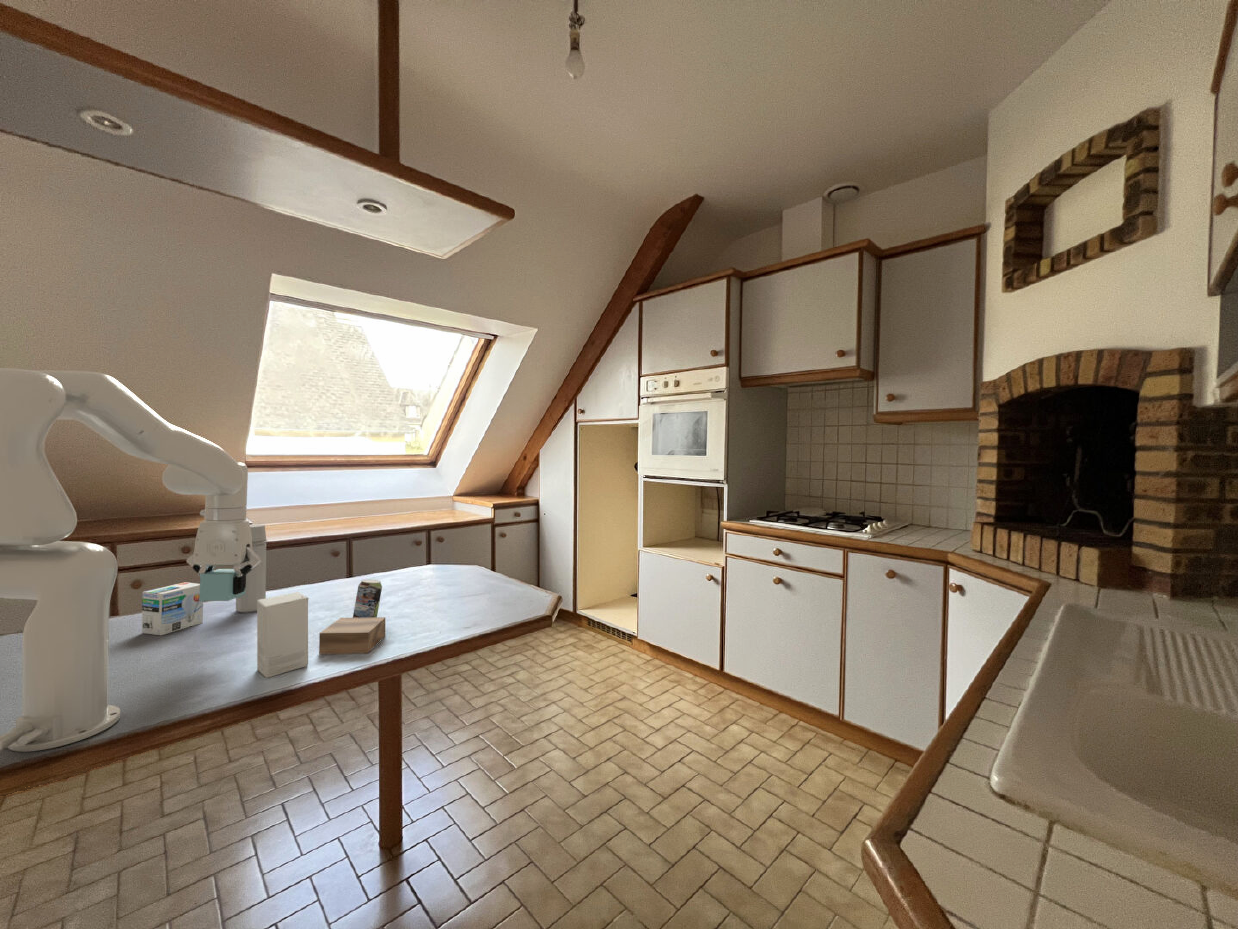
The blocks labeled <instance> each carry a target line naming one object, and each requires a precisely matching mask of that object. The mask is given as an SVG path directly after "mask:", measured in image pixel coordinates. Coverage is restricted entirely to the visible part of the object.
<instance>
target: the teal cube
mask: <svg viewBox="0 0 1238 929" xmlns="http://www.w3.org/2000/svg"><path fill="white" fill-rule="evenodd" d="M234 577H236V574H235V571H234V569H233V568H218V569H213V571H210V572H207V573H203V574H200V577H199V584H200V596H199V601H203V602H229V601H233V600H234V599H235V600H236V598H237V597H240V596H242V595H245V591H246V588H245V590H244V592H242V593H239V594H236V595H234V594H233V579H234Z"/></svg>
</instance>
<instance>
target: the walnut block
mask: <svg viewBox="0 0 1238 929" xmlns="http://www.w3.org/2000/svg"><path fill="white" fill-rule="evenodd" d="M384 636H385V637H386V617H381V616H380V617H378V616H377V617H368V618H353V617H340V618H339V619H337V620H335V621H334V622H333V623H331V624H330V625H329V626H327V627H326V628H325V629H324V630H321V631H320V632H319V636H318V638H319V642H318V644H319V645H318V654H319V655H351V654H350V653H366V654H369V653H370V652H371V651H372V650H373V649H374V648H375V647H376V646H377V645H378V644H379V643H380V642H381V641H382V640H383V639H384V638H385V637H384ZM383 637H384V638H383ZM382 638H383V639H382ZM381 639H382V640H381ZM380 640H381V641H380ZM379 641H380V642H379ZM378 642H379V643H378ZM377 643H378V644H377ZM376 644H377V645H376ZM375 645H376V646H375ZM374 646H375V647H374ZM373 647H374V648H373ZM372 648H373V649H372ZM371 649H372V650H371ZM370 650H371V651H370ZM369 651H370V652H369ZM368 652H369V653H368ZM346 653H347V654H346Z"/></svg>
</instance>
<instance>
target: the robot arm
mask: <svg viewBox="0 0 1238 929" xmlns="http://www.w3.org/2000/svg"><path fill="white" fill-rule="evenodd" d="M57 420H67V421H68V420H69V421H77V422H79V423H81V424H84V425H85V426H86V427H88V428H89V429H90V430H92V431H94V432H95V433H97V434H98V435H100V437H102V438H103V439H105V440H106V441H107V442H109V443H110V444H112V445H113V446H114V447H116V448H118V450H120V451H121V452H123V453H125V454H127V455H128V456H132V457H135V458H138V459H141V460H145V461H149V462H154V463H159V464H164V465H168V466H167V467H165V469H164V471H163V472H162V475H161V481H162V483H163V486H164V487H165V488H166V489H167V490H168V491H171V492H172V493H174V494H178V495H185V496H187V495H188V496H205V500H204V501H205V502H204V504H205V506H204V509H201V510H200V512H199V515H200V516H202V517H204V518H203V519H204V520H203V521H200V523H199V526H198V528H197V533H196V537H195V542H194V550H193V553H192V554H191V555H189V556H188V558H186V560H185V561H186V563H187V564H188V565H190V567H191V568H192V569H193V570H194V571H195V573H197V576H198V577H199V578H200V574H203V573H207V572H210V571H214V570H215V567H217V566H219V567H221V566H222V567H223V566H224V567H227V566H228V567H231V566H232V569H234V571H235V574H236V577H234V579H233V594H234V595H236V594H239V593H242V592H244V590H245V588H246V575H247V574H249V572H250V571H251V570H252V569H253V568H254V567H255V566H256V565H258V564H259V563H260V562H261V558H260V557H259V556H258V555H257V554H256V553H255V552H254V551H253V550H252V535H251V529H250V525H251V524H250V521H249V520H247V510H248V509H247V506H248V505H247V504H248V481H249V480H248V479H249V477H248V476H249V475H248V474H249V469H248V466H247V465H246V463H243V462H238V461H237V460H236V459H235V458H233V457H232V456H231V455H230V454H229V453H228V452H227V451H225V450H224V449H223V448H222V447H221V446H219V445H218V444H215V443H213V442H212V441H210V440H207V439H206V438H204V437H201V436H199V435H196V434H194V433H192V432H190V431H187V430H185V429H184V428H181V427H178V426H176V425H174V424H171V423H169V422H168V421H167V420H165V419H164V418H162V417H161V416H160V415H159V414H158V413H157V412H156V411H154V410H153V409H152V408H151V407H149V405H147V404H146V403H145V402H144V401H143V400H141V399H140V398H139V397H138V396H137V395H136V394H134V393H133V392H132V391H131V390H129V388H127V387H126V386H125V385H123V384H122V382H119V381H118V380H117V379H116V378H114V377H113V376H110V375H108V374H105V373H101V372H97V371H89V370H88V371H86V370H85V371H83V370H47V369H46V370H41V369H39V370H31V369H22V368H8V367H5V368H4V367H3V368H2V367H0V599H10V600H33V601H37V602H36V604H35V607H34V608H33V610H32V612H31V613H30V615H28V616H29V617H28V618H27V620H26V621H25V624H24V627H23V631H22V716H20V717H18V718H16V719H15V726H14V727H12V728H11V729H10V731H9V732H6V733H4V734H1V735H0V751H2V750H4V749H5V748H7V749H9V750H10V751H13V752H20V753H21V752H23V753H24V752H37V751H42V750H43V751H44V750H45V751H46V750H50V749H53V748H58V747H62V746H66V745H69V744H73V743H76V742H79V741H82V740H85V739H87V738H90V737H93V736H95V735H97V734H99V733H102V732H103V731H105V730H107V729H108V728H110V727H112V726H113V725H115V723H117V722H118V721H119V719H120V718H121V708H119V707H118V706H117V705H111V704H109V645H110V644H109V643H110V642H109V638H110V636H109V632H110V631H109V627H110V626H109V623H110V622H109V621H110V602H111V598H112V593H113V588H114V587H115V583H116V579H117V575H118V568H119V566H118V565H119V564H118V560H117V558H116V556H115V554H114V553H113V552H112V551H111V550H109V549H108V548H106V547H105V546H102V545H100V544H97V543H93V542H92V543H91V542H85V541H72V540H71V541H70V540H69V541H68V540H67V541H65V540H63V539H65V538H67V537H69V536H70V535H71V534H72V533H73V532H74V531H75V529H76V527H77V524H78V517H77V511H76V509H75V508H74V506H73V504H72V502H71V500H70V498H69V496H68V495H67V493H66V491H65V490H64V488H63V486H62V484H61V482H60V481H59V479H58V477H57V476H56V474H55V472H54V470H53V469H52V466H51V465H50V463H49V460H48V458H47V456H46V452H45V443H46V439H47V437H48V436H47V435H48V434H49V432H50V430H51V428H52V426H53V425H54V424H55V422H56V421H57ZM248 561H250V563H249V564H248V565H246V562H248Z"/></svg>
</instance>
